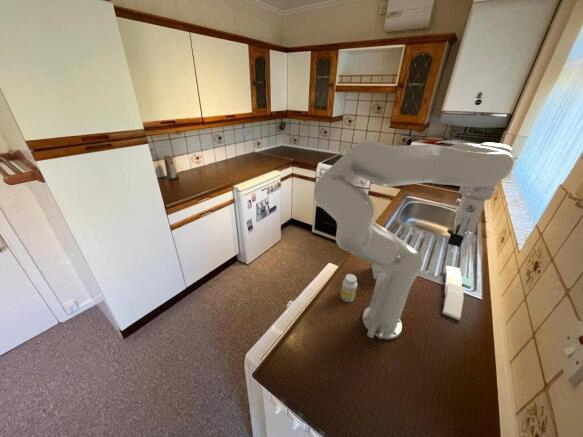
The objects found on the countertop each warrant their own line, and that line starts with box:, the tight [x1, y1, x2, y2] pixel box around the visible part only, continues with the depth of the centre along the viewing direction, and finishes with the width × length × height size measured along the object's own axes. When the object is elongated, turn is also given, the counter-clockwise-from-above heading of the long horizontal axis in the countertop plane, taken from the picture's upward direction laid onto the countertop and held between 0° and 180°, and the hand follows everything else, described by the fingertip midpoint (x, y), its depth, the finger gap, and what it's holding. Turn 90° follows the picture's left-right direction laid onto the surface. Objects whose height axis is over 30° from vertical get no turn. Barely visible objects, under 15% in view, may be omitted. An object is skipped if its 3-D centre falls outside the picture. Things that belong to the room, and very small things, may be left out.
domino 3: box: [444, 274, 462, 296], centre depth 94 cm, size 2×5×9 cm
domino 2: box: [444, 275, 474, 289], centre depth 100 cm, size 2×5×9 cm
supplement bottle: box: [340, 273, 358, 303], centre depth 88 cm, size 5×5×10 cm
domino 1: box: [444, 265, 463, 287], centre depth 99 cm, size 2×5×9 cm
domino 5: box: [442, 291, 465, 321], centre depth 85 cm, size 2×5×9 cm
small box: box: [371, 264, 385, 280], centre depth 100 cm, size 8×6×10 cm
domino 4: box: [443, 283, 465, 304], centre depth 89 cm, size 2×5×9 cm
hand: (453, 244), depth 75 cm, fingers closed
